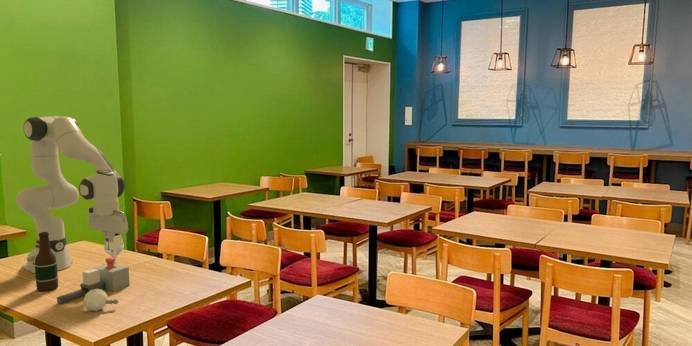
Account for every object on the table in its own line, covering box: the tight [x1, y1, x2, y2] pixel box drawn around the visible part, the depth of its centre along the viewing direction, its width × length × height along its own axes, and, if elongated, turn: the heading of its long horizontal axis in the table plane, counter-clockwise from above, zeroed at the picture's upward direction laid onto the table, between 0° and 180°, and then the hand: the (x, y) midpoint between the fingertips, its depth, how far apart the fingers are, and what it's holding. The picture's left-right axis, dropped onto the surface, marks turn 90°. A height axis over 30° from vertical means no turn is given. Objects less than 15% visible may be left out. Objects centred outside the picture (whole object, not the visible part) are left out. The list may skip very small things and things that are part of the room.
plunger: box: [105, 256, 115, 269], centre depth 211 cm, size 4×4×9 cm
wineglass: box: [103, 233, 125, 264], centre depth 227 cm, size 8×8×18 cm
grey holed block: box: [92, 263, 131, 292], centre depth 211 cm, size 12×8×8 cm, turn 63°
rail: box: [56, 283, 106, 305], centre depth 199 cm, size 2×19×2 cm, turn 153°
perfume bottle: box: [83, 289, 119, 312], centre depth 186 cm, size 8×8×12 cm
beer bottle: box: [34, 232, 59, 293], centre depth 206 cm, size 8×8×24 cm
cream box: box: [79, 268, 104, 292], centre depth 203 cm, size 6×6×9 cm
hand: (109, 241), depth 209 cm, fingers closed
